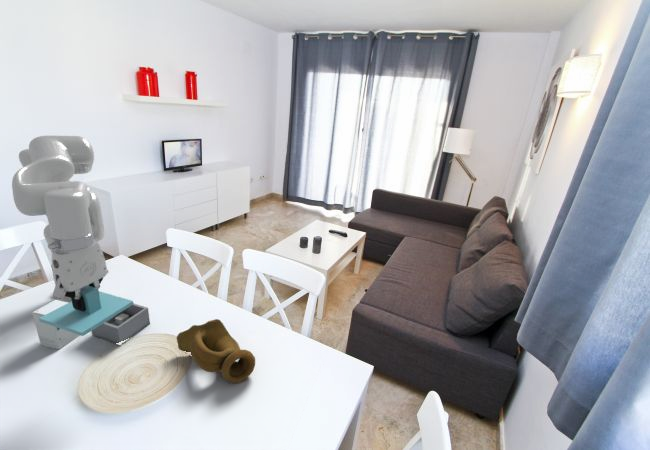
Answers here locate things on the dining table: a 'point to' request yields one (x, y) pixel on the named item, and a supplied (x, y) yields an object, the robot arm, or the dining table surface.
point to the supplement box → (51, 327)
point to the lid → (87, 312)
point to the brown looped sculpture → (217, 351)
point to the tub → (123, 324)
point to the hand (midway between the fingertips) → (87, 305)
